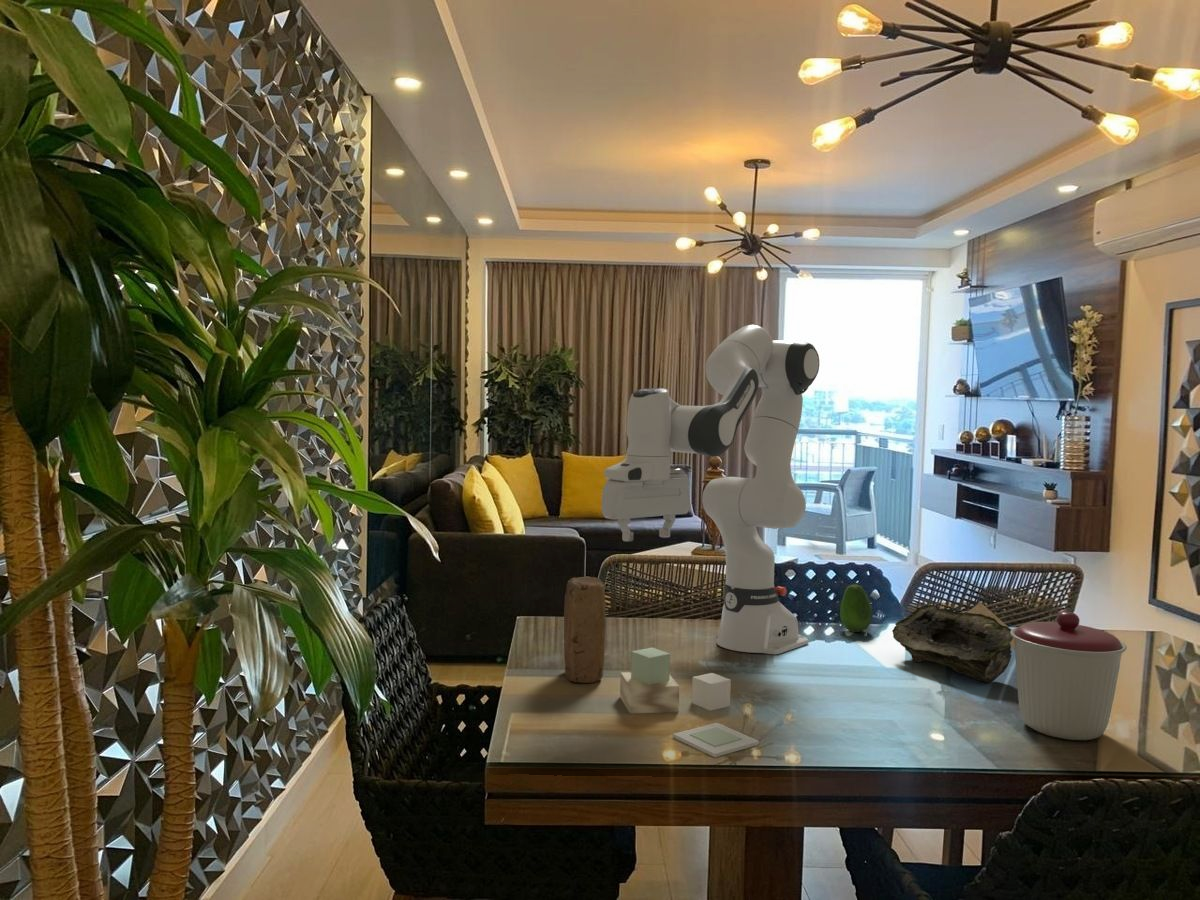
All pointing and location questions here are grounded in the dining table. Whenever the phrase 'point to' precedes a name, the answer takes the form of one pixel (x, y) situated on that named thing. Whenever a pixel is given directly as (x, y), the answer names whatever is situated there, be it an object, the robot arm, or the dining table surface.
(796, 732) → the dining table surface
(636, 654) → the sage cube
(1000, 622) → the model pyramid
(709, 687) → the offwhite cube
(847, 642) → the dining table surface
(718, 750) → the card
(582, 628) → the block
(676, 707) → the base block
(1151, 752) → the dining table surface
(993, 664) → the hollow geode rock
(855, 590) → the avocado
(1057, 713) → the canister
